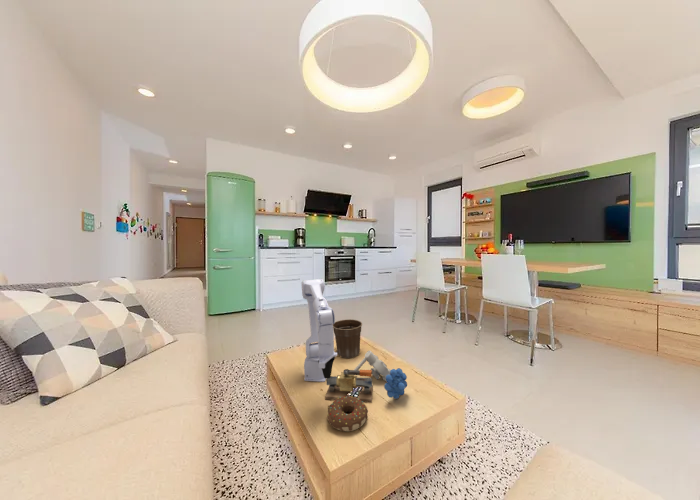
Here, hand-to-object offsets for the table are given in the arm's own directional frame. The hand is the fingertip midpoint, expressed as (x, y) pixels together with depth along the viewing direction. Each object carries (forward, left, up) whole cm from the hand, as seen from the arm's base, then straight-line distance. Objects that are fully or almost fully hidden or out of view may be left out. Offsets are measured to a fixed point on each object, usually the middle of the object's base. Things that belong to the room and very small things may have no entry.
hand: (327, 377), depth 94 cm
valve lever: (+10, +7, -3) cm, 13 cm away
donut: (+8, -7, -11) cm, 15 cm away
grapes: (+26, +5, -11) cm, 29 cm away
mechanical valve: (+13, +17, -11) cm, 24 cm away
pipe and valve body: (+7, +7, -9) cm, 14 cm away
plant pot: (+1, +42, -11) cm, 43 cm away
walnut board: (+7, +7, -10) cm, 14 cm away
